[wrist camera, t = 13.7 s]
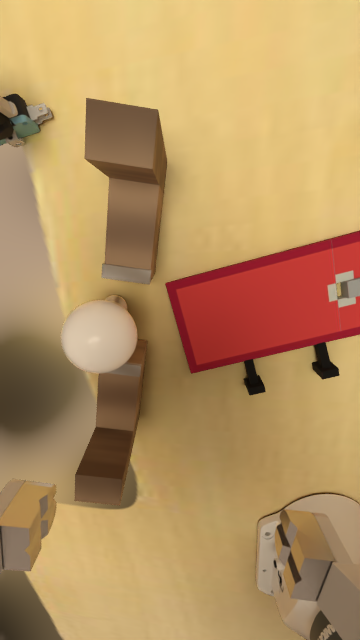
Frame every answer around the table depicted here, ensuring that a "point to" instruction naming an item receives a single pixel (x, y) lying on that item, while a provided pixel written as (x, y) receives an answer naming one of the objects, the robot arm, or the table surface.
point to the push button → (19, 119)
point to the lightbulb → (99, 335)
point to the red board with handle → (270, 307)
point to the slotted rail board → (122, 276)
